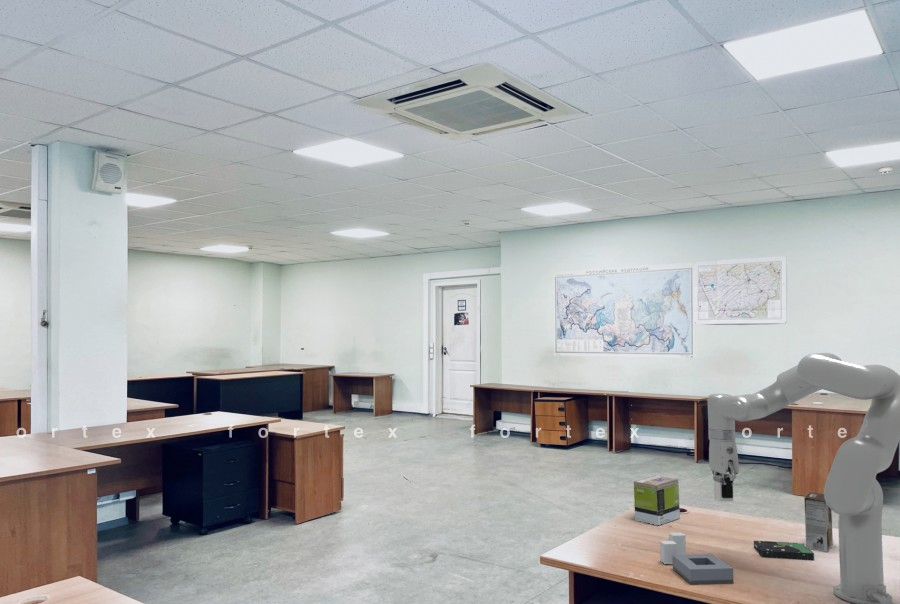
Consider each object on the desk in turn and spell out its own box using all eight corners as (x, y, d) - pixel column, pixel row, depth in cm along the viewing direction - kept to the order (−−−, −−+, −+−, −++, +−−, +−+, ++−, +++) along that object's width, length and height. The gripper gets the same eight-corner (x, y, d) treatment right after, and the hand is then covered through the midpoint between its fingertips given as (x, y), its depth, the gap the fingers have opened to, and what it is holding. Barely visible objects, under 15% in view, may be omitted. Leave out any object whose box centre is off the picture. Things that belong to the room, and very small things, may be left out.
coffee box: (811, 541, 214) (809, 491, 215) (833, 545, 210) (831, 494, 211) (805, 548, 207) (803, 497, 208) (828, 552, 203) (826, 500, 204)
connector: (733, 501, 195) (732, 477, 196) (720, 501, 195) (719, 477, 195) (726, 498, 199) (726, 474, 200) (713, 498, 199) (713, 475, 199)
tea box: (656, 513, 249) (655, 474, 250) (680, 519, 241) (679, 478, 242) (633, 520, 239) (633, 480, 240) (658, 526, 232) (657, 484, 233)
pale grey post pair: (697, 564, 193) (696, 543, 193) (664, 565, 192) (664, 544, 192) (681, 552, 204) (681, 532, 204) (650, 552, 203) (650, 533, 203)
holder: (733, 583, 177) (733, 568, 178) (690, 584, 177) (690, 569, 177) (712, 567, 189) (712, 553, 190) (672, 569, 189) (672, 554, 189)
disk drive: (762, 559, 198) (815, 562, 195) (761, 550, 199) (814, 552, 196) (753, 549, 208) (803, 551, 206) (753, 540, 209) (803, 542, 206)
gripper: (748, 438, 190) (750, 502, 189) (720, 431, 207) (722, 489, 206) (723, 439, 190) (725, 503, 188) (697, 431, 206) (699, 490, 205)
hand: (723, 495), depth 197 cm, fingers closed on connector, 4 cm apart
